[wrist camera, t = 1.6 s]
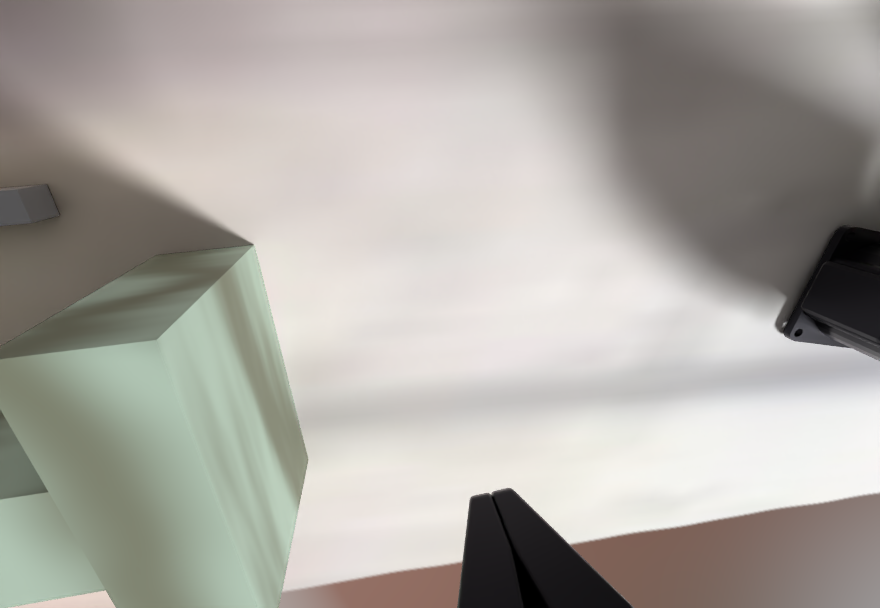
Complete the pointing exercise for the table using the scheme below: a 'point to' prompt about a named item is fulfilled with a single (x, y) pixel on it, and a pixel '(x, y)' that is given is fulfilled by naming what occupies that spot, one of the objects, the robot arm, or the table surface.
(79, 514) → the T-block
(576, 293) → the table surface
